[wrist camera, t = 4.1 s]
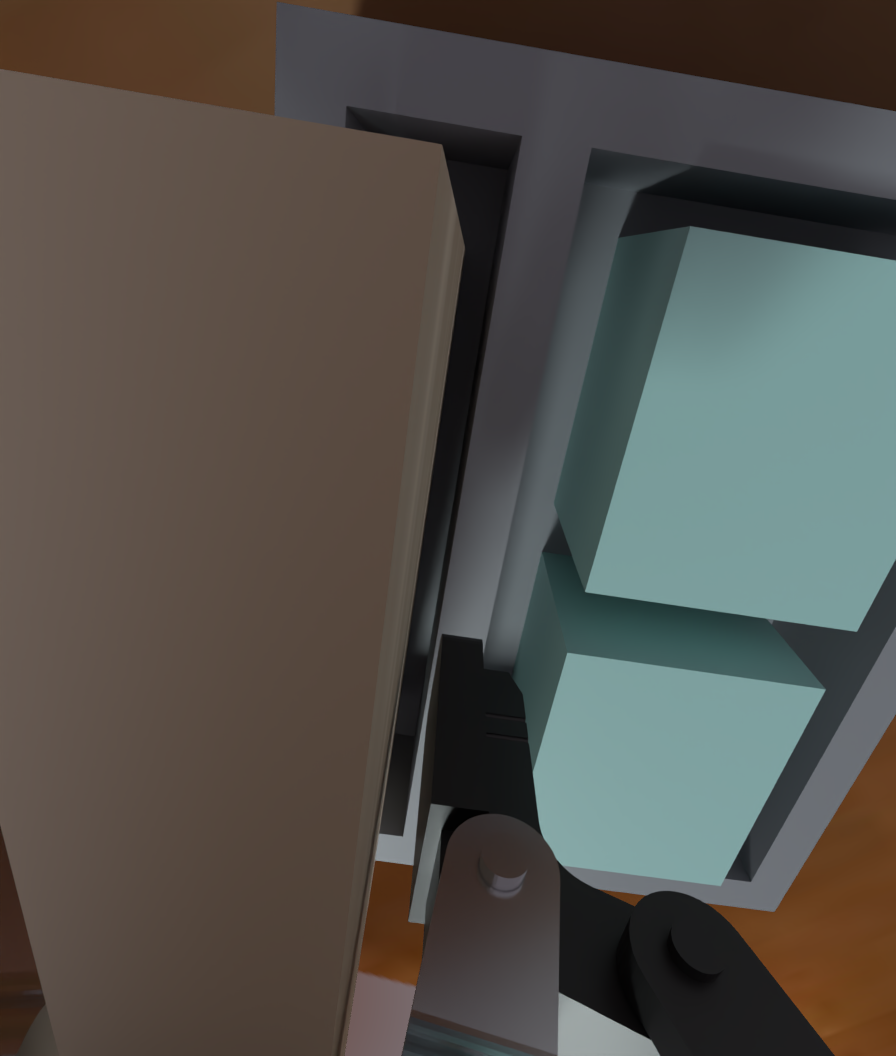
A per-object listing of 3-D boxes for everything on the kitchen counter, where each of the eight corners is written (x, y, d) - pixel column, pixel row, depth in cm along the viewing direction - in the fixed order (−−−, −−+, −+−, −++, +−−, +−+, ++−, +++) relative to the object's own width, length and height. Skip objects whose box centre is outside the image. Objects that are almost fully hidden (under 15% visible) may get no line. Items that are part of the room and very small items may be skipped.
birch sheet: (354, 688, 20) (155, 1435, 7) (400, 239, 14) (-197, 33, 1) (400, 694, 20) (283, 1447, 7) (465, 249, 14) (440, 144, 1)
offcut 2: (499, 726, 20) (508, 858, 16) (541, 551, 18) (567, 652, 13) (665, 748, 21) (720, 886, 16) (734, 580, 18) (825, 689, 13)
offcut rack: (304, 721, 22) (260, 845, 18) (341, 90, 14) (276, 2, 9) (710, 776, 23) (774, 911, 18) (980, 200, 14) (1229, 170, 10)
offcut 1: (553, 503, 17) (585, 592, 12) (617, 237, 14) (690, 226, 9) (753, 533, 17) (856, 631, 13) (858, 278, 14) (1042, 285, 10)
